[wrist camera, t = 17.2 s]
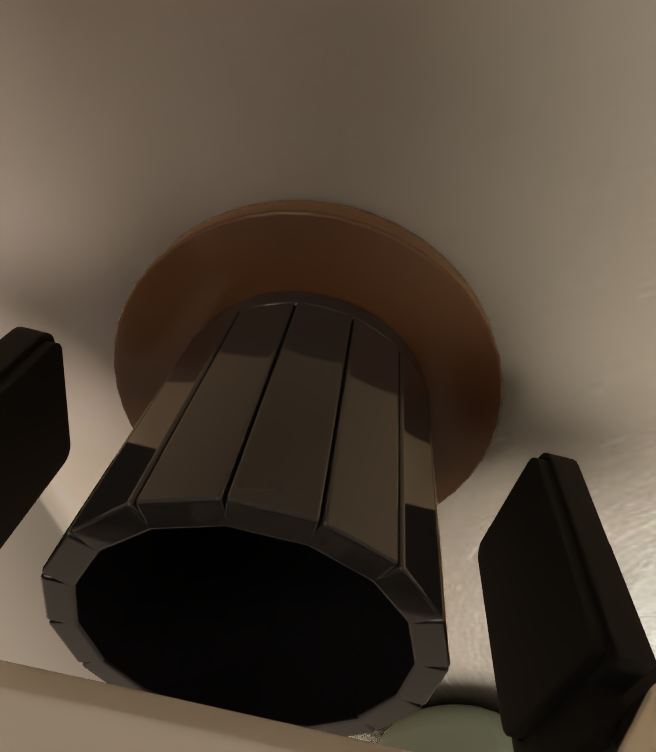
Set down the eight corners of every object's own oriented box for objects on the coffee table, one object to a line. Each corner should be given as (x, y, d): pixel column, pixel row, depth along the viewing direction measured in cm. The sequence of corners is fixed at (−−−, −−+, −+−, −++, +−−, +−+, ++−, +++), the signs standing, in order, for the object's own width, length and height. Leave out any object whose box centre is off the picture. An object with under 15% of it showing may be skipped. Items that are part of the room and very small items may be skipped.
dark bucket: (466, 328, 11) (519, 568, 6) (377, 543, 15) (367, 794, 10) (189, 260, 11) (19, 450, 6) (171, 495, 15) (60, 726, 10)
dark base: (61, 243, 12) (40, 256, 11) (483, 156, 10) (489, 165, 9) (201, 524, 16) (192, 545, 16) (507, 502, 15) (512, 525, 14)
